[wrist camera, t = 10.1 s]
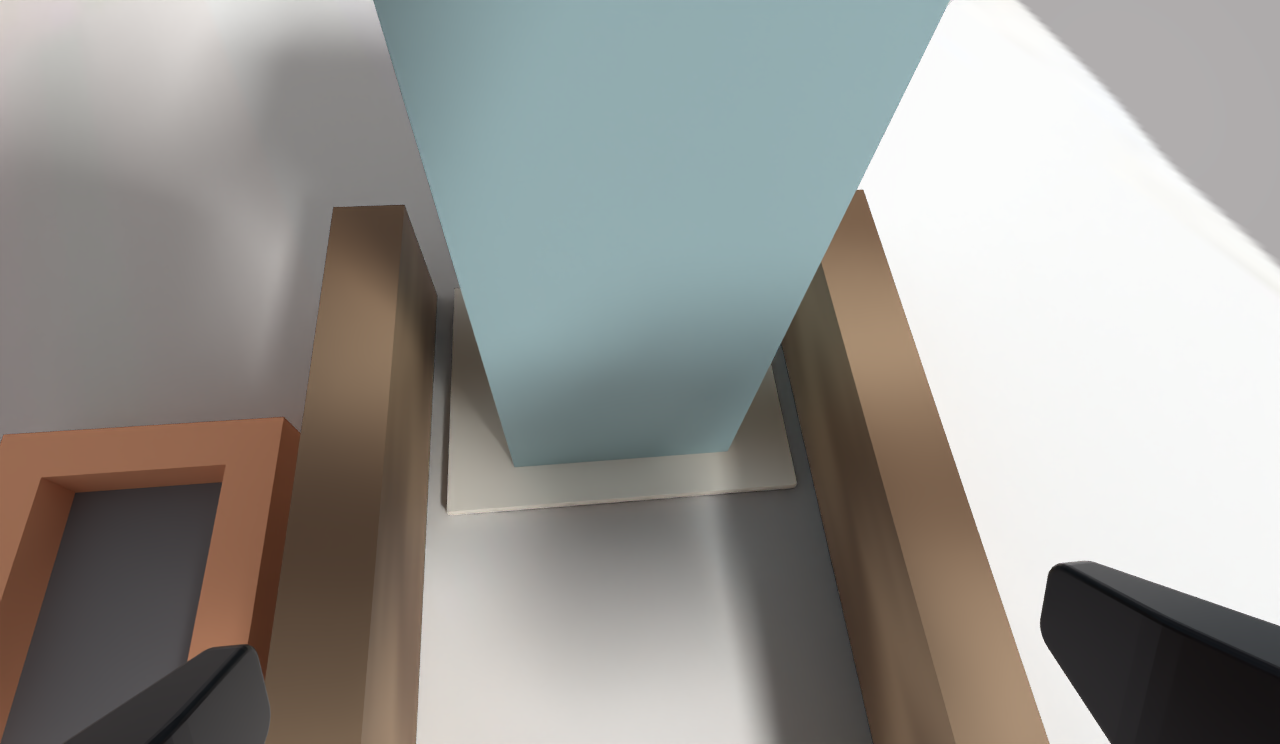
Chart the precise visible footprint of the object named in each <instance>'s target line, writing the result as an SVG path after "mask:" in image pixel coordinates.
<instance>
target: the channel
mask: <svg viewBox="0 0 1280 744" xmlns="http://www.w3.org/2000/svg"><path fill="white" fill-rule="evenodd" d="M436 309H437V294H436V291H435V288H434V285H433V283H432V280H431V277H430V274H429V272H428V269H427V266H426V263H425V260H424V258H423V255H422V252H421V249H420V247H419V244H418V241H417V238H416V236H415V233H414V230H413V227H412V224H411V222H410V219H409V216H408V213H407V211H406V208H405V205H385V206H355V207H333V213H332V220H331V227H330V234H329V241H328V248H327V255H326V261H325V268H324V275H323V282H322V289H321V296H320V303H319V310H318V317H317V324H316V331H315V338H314V344H313V351H312V358H311V365H310V372H309V379H308V386H307V393H306V400H305V407H304V414H303V421H302V428H301V434H300V441H299V448H298V455H297V462H296V469H295V476H294V483H293V490H292V497H291V504H290V511H289V517H288V524H287V531H286V538H285V545H284V552H283V559H282V566H281V573H280V580H279V587H278V594H277V601H276V607H275V614H274V621H273V628H272V635H271V642H270V649H269V656H268V663H267V670H266V677H265V686H266V690H267V695H268V699H269V703H270V711H271V717H270V726H269V731H268V734H267V737H266V741H265V744H416V730H417V709H418V688H419V667H420V646H421V625H422V604H423V583H424V562H425V541H426V520H427V499H428V478H429V457H430V436H431V415H432V393H433V372H434V351H435V330H436ZM781 343H782V348H783V352H784V357H785V361H786V365H787V370H788V374H789V378H790V383H791V387H792V391H793V396H794V400H795V404H796V409H797V413H798V418H799V422H800V426H801V431H802V435H803V439H804V444H805V448H806V452H807V457H808V461H809V465H810V470H811V474H812V479H813V483H814V487H815V492H816V496H817V500H818V505H819V509H820V513H821V518H822V522H823V526H824V531H825V535H826V540H827V544H828V548H829V553H830V557H831V561H832V566H833V570H834V574H835V579H836V583H837V587H838V592H839V596H840V601H841V605H842V609H843V614H844V618H845V622H846V627H847V631H848V635H849V640H850V644H851V648H852V653H853V657H854V662H855V666H856V670H857V675H858V679H859V683H860V688H861V692H862V696H863V701H864V705H865V709H866V714H867V718H868V723H869V727H870V731H871V736H872V740H873V744H1049V741H1048V738H1047V735H1046V732H1045V729H1044V726H1043V723H1042V720H1041V717H1040V714H1039V711H1038V708H1037V705H1036V702H1035V699H1034V696H1033V693H1032V690H1031V687H1030V684H1029V681H1028V678H1027V675H1026V672H1025V669H1024V666H1023V664H1022V661H1021V658H1020V655H1019V652H1018V649H1017V646H1016V643H1015V640H1014V637H1013V634H1012V631H1011V628H1010V625H1009V622H1008V619H1007V616H1006V613H1005V610H1004V607H1003V604H1002V601H1001V598H1000V595H999V592H998V589H997V586H996V583H995V580H994V577H993V574H992V571H991V568H990V565H989V562H988V559H987V556H986V553H985V550H984V547H983V545H982V542H981V539H980V536H979V533H978V530H977V527H976V524H975V521H974V518H973V515H972V512H971V509H970V506H969V503H968V500H967V497H966V494H965V491H964V488H963V485H962V482H961V479H960V476H959V473H958V470H957V467H956V464H955V461H954V458H953V455H952V452H951V449H950V446H949V443H948V440H947V437H946V434H945V431H944V429H943V426H942V423H941V420H940V417H939V414H938V411H937V408H936V405H935V402H934V399H933V396H932V393H931V390H930V387H929V384H928V381H927V378H926V375H925V372H924V369H923V366H922V363H921V360H920V357H919V354H918V351H917V348H916V345H915V342H914V339H913V336H912V333H911V330H910V327H909V324H908V321H907V318H906V315H905V312H904V310H903V307H902V304H901V301H900V298H899V295H898V292H897V289H896V286H895V283H894V280H893V277H892V274H891V271H890V268H889V265H888V262H887V259H886V256H885V253H884V250H883V247H882V244H881V241H880V238H879V235H878V232H877V229H876V226H875V223H874V220H873V217H872V214H871V211H870V208H869V205H868V202H867V199H866V196H865V193H864V191H863V190H856V192H855V194H854V196H853V198H852V200H851V202H850V204H849V206H848V208H847V210H846V212H845V214H844V216H843V218H842V220H841V222H840V224H839V226H838V228H837V230H836V232H835V234H834V236H833V238H832V240H831V242H830V245H829V247H828V249H827V251H826V253H825V255H824V257H823V259H822V261H821V263H820V265H819V267H818V269H817V271H816V273H815V275H814V277H813V279H812V281H811V283H810V285H809V287H808V289H807V291H806V293H805V295H804V297H803V299H802V301H801V303H800V305H799V307H798V309H797V311H796V314H795V316H794V318H793V320H792V322H791V324H790V326H789V328H788V330H787V332H786V334H785V336H784V338H783V340H782V342H781ZM796 485H797V480H796V475H795V471H794V466H793V462H792V457H791V452H790V448H789V443H788V439H787V434H786V429H785V425H784V420H783V416H782V411H781V407H780V402H779V397H778V393H777V388H776V384H775V379H774V374H773V370H772V365H771V364H770V366H769V368H768V370H767V372H766V374H765V376H764V378H763V380H762V382H761V385H760V387H759V389H758V391H757V393H756V395H755V397H754V399H753V401H752V403H751V405H750V407H749V409H748V411H747V413H746V415H745V417H744V419H743V421H742V423H741V425H740V427H739V429H738V431H737V433H736V435H735V437H734V439H733V441H732V443H731V445H730V447H729V449H728V451H726V452H713V453H699V454H686V455H672V456H659V457H646V458H632V459H619V460H605V461H592V462H578V463H565V464H552V465H538V466H525V467H514V464H513V461H512V458H511V454H510V451H509V448H508V444H507V441H506V438H505V435H504V431H503V428H502V425H501V421H500V418H499V415H498V411H497V408H496V405H495V401H494V398H493V395H492V391H491V388H490V385H489V382H488V378H487V375H486V372H485V368H484V365H483V362H482V358H481V355H480V352H479V348H478V345H477V342H476V338H475V335H474V332H473V329H472V325H471V322H470V319H469V315H468V312H467V309H466V305H465V302H464V299H463V295H462V292H461V289H460V288H454V313H453V343H452V372H451V402H450V432H449V462H448V492H447V513H448V514H449V516H450V515H463V514H475V513H488V512H500V511H513V510H525V509H538V508H550V507H563V506H576V505H588V504H601V503H613V502H626V501H638V500H651V499H663V498H676V497H688V496H701V495H713V494H726V493H738V492H751V491H763V490H776V489H788V488H794V487H795V486H796Z"/></svg>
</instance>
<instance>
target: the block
mask: <svg viewBox="0 0 1280 744" xmlns="http://www.w3.org/2000/svg"><path fill="white" fill-rule="evenodd" d="M373 1H374V4H375V7H376V11H377V14H378V17H379V21H380V24H381V27H382V31H383V34H384V37H385V41H386V44H387V47H388V50H389V54H390V57H391V60H392V64H393V67H394V70H395V74H396V77H397V80H398V84H399V87H400V90H401V94H402V97H403V100H404V103H405V107H406V110H407V113H408V117H409V120H410V123H411V127H412V130H413V133H414V137H415V140H416V143H417V146H418V150H419V153H420V156H421V160H422V163H423V166H424V170H425V173H426V176H427V180H428V183H429V186H430V190H431V193H432V196H433V199H434V203H435V206H436V209H437V213H438V216H439V219H440V223H441V226H442V229H443V233H444V236H445V239H446V242H447V246H448V249H449V252H450V256H451V259H452V262H453V266H454V269H455V272H456V276H457V279H458V282H459V286H460V289H461V292H462V295H463V299H464V302H465V305H466V309H467V312H468V315H469V319H470V322H471V325H472V329H473V332H474V335H475V338H476V342H477V345H478V348H479V352H480V355H481V358H482V362H483V365H484V368H485V372H486V375H487V378H488V382H489V385H490V388H491V391H492V395H493V398H494V401H495V405H496V408H497V411H498V415H499V418H500V421H501V425H502V428H503V431H504V435H505V438H506V441H507V444H508V448H509V451H510V454H511V458H512V461H513V464H514V467H525V466H538V465H552V464H565V463H578V462H592V461H605V460H619V459H632V458H646V457H659V456H672V455H686V454H699V453H713V452H726V451H728V449H729V447H730V445H731V443H732V441H733V439H734V437H735V435H736V433H737V431H738V429H739V427H740V425H741V423H742V421H743V419H744V417H745V415H746V413H747V411H748V409H749V407H750V405H751V403H752V401H753V399H754V397H755V395H756V393H757V391H758V389H759V387H760V385H761V382H762V380H763V378H764V376H765V374H766V372H767V370H768V368H769V366H770V364H771V362H772V360H773V358H774V356H775V354H776V352H777V350H778V348H779V346H780V344H781V342H782V340H783V338H784V336H785V334H786V332H787V330H788V328H789V326H790V324H791V322H792V320H793V318H794V316H795V314H796V311H797V309H798V307H799V305H800V303H801V301H802V299H803V297H804V295H805V293H806V291H807V289H808V287H809V285H810V283H811V281H812V279H813V277H814V275H815V273H816V271H817V269H818V267H819V265H820V263H821V261H822V259H823V257H824V255H825V253H826V251H827V249H828V247H829V245H830V242H831V240H832V238H833V236H834V234H835V232H836V230H837V228H838V226H839V224H840V222H841V220H842V218H843V216H844V214H845V212H846V210H847V208H848V206H849V204H850V202H851V200H852V198H853V196H854V194H855V192H856V190H857V188H858V186H859V184H860V182H861V180H862V178H863V176H864V174H865V171H866V169H867V167H868V165H869V163H870V161H871V159H872V157H873V155H874V153H875V151H876V149H877V147H878V145H879V143H880V141H881V139H882V137H883V135H884V133H885V131H886V129H887V127H888V125H889V123H890V121H891V119H892V117H893V115H894V113H895V111H896V109H897V107H898V105H899V103H900V100H901V98H902V96H903V94H904V92H905V90H906V88H907V86H908V84H909V82H910V80H911V78H912V76H913V74H914V72H915V70H916V68H917V66H918V64H919V62H920V60H921V58H922V56H923V54H924V52H925V50H926V48H927V46H928V44H929V42H930V40H931V38H932V36H933V34H934V31H935V29H936V27H937V25H938V23H939V21H940V19H941V17H942V15H943V13H944V11H945V9H946V7H947V5H948V3H949V1H950V0H373Z"/></svg>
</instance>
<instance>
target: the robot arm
mask: <svg viewBox="0 0 1280 744" xmlns="http://www.w3.org/2000/svg"><path fill="white" fill-rule="evenodd" d="M1040 628H1041V633H1042V637H1043V639H1044V641H1045V643H1046V645H1047V647H1048V649H1049V650H1050V652H1051V653H1052V655H1053V656H1054V658H1055V659H1056V661H1057V662H1058V664H1059V665H1060V667H1061V668H1062V670H1063V671H1064V673H1065V674H1066V676H1067V677H1068V679H1069V681H1070V682H1071V684H1072V685H1073V687H1074V688H1075V690H1076V691H1077V693H1078V694H1079V696H1080V697H1081V699H1082V700H1083V702H1084V703H1085V705H1086V706H1087V708H1088V709H1089V711H1090V712H1091V714H1092V716H1093V717H1094V719H1095V720H1096V722H1097V723H1098V725H1099V726H1100V728H1101V729H1102V731H1103V732H1104V734H1105V735H1106V737H1107V738H1108V740H1109V741H1110V743H1111V744H1280V626H1278V625H1275V624H1273V623H1270V622H1267V621H1264V620H1261V619H1258V618H1255V617H1252V616H1249V615H1246V614H1243V613H1241V612H1238V611H1235V610H1232V609H1229V608H1226V607H1223V606H1220V605H1217V604H1214V603H1212V602H1209V601H1206V600H1203V599H1200V598H1197V597H1194V596H1191V595H1188V594H1185V593H1182V592H1180V591H1177V590H1174V589H1171V588H1168V587H1165V586H1162V585H1159V584H1156V583H1153V582H1151V581H1148V580H1145V579H1142V578H1139V577H1136V576H1133V575H1130V574H1127V573H1124V572H1121V571H1119V570H1116V569H1113V568H1110V567H1107V566H1104V565H1101V564H1098V563H1095V562H1092V561H1077V562H1067V563H1059V564H1057V565H1055V566H1053V567H1052V569H1051V570H1050V571H1049V574H1048V578H1047V584H1046V590H1045V595H1044V601H1043V607H1042V613H1041V618H1040ZM270 717H271V711H270V703H269V699H268V695H267V690H266V686H265V682H264V677H263V673H262V669H261V665H260V660H259V657H258V654H257V651H256V650H255V648H254V647H252V646H250V645H248V644H239V645H229V646H218V647H212V648H209V649H206V650H205V651H203V652H201V653H200V654H198V655H197V656H195V657H194V658H192V659H191V660H189V661H188V662H186V663H184V664H183V665H181V666H180V667H178V668H177V669H175V670H174V671H172V672H171V673H169V674H168V675H166V676H165V677H163V678H161V679H160V680H158V681H157V682H155V683H154V684H152V685H151V686H149V687H148V688H146V689H145V690H143V691H142V692H140V693H138V694H137V695H135V696H134V697H132V698H131V699H129V700H128V701H126V702H125V703H123V704H122V705H120V706H119V707H117V708H116V709H114V710H112V711H111V712H109V713H108V714H106V715H105V716H103V717H102V718H100V719H99V720H97V721H96V722H94V723H93V724H91V725H89V726H88V727H86V728H85V729H83V730H82V731H80V732H79V733H77V734H76V735H74V736H73V737H71V738H70V739H68V740H66V741H65V742H63V743H62V744H265V741H266V737H267V734H268V731H269V726H270Z"/></svg>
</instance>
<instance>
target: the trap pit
mask: <svg viewBox="0 0 1280 744" xmlns="http://www.w3.org/2000/svg"><path fill="white" fill-rule="evenodd" d="M299 441H300V433H299V432H298V431H297V430H296V429H295V428H294V427H293V426H292V425H291V424H290V423H289V422H288V421H287V420H286V419H285V418H284V417H273V418H258V419H242V420H226V421H210V422H195V423H179V424H163V425H147V426H132V427H116V428H100V429H84V430H69V431H53V432H37V433H21V434H5V435H3V438H2V440H1V443H0V744H62V743H63V742H65V741H66V740H68V739H70V738H71V737H73V736H74V735H76V734H77V733H79V732H80V731H82V730H83V729H85V728H86V727H88V726H89V725H91V724H93V723H94V722H96V721H97V720H99V719H100V718H102V717H103V716H105V715H106V714H108V713H109V712H111V711H112V710H114V709H116V708H117V707H119V706H120V705H122V704H123V703H125V702H126V701H128V700H129V699H131V698H132V697H134V696H135V695H137V694H138V693H140V692H142V691H143V690H145V689H146V688H148V687H149V686H151V685H152V684H154V683H155V682H157V681H158V680H160V679H161V678H163V677H165V676H166V675H168V674H169V673H171V672H172V671H174V670H175V669H177V668H178V667H180V666H181V665H183V664H184V663H186V662H188V661H189V660H191V659H192V658H194V657H195V656H197V655H198V654H200V653H201V652H203V651H205V650H206V649H209V648H212V647H218V646H229V645H239V644H248V645H250V646H252V647H254V648H255V650H256V651H257V654H258V657H259V660H260V665H261V669H262V673H263V677H264V682H265V677H266V670H267V663H268V656H269V649H270V642H271V635H272V628H273V621H274V614H275V607H276V601H277V594H278V587H279V580H280V573H281V566H282V559H283V552H284V545H285V538H286V531H287V524H288V517H289V511H290V504H291V497H292V490H293V483H294V476H295V469H296V462H297V455H298V448H299Z"/></svg>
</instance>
